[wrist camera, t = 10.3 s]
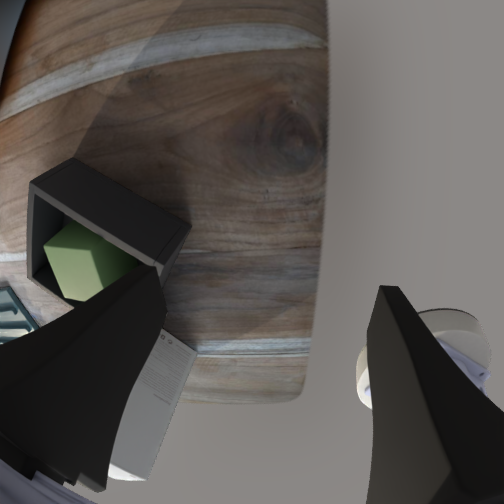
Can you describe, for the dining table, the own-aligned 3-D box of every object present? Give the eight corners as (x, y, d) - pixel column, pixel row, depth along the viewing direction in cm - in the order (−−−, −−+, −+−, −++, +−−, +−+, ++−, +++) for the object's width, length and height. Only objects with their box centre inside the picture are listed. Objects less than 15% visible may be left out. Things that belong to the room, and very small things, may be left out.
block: (139, 268, 22) (110, 307, 19) (94, 263, 23) (64, 297, 20) (126, 215, 20) (90, 250, 16) (79, 214, 21) (42, 245, 17)
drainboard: (9, 286, 30) (3, 293, 28) (62, 356, 35) (58, 364, 34) (-32, 298, 36) (-37, 303, 35) (7, 350, 42) (3, 355, 41)
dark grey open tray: (192, 225, 20) (164, 265, 17) (153, 308, 25) (130, 347, 22) (72, 156, 19) (29, 181, 15) (58, 247, 24) (27, 278, 20)
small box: (141, 311, 26) (68, 438, 15) (199, 352, 27) (149, 483, 17) (113, 345, 30) (55, 445, 19) (161, 378, 32) (116, 481, 21)
